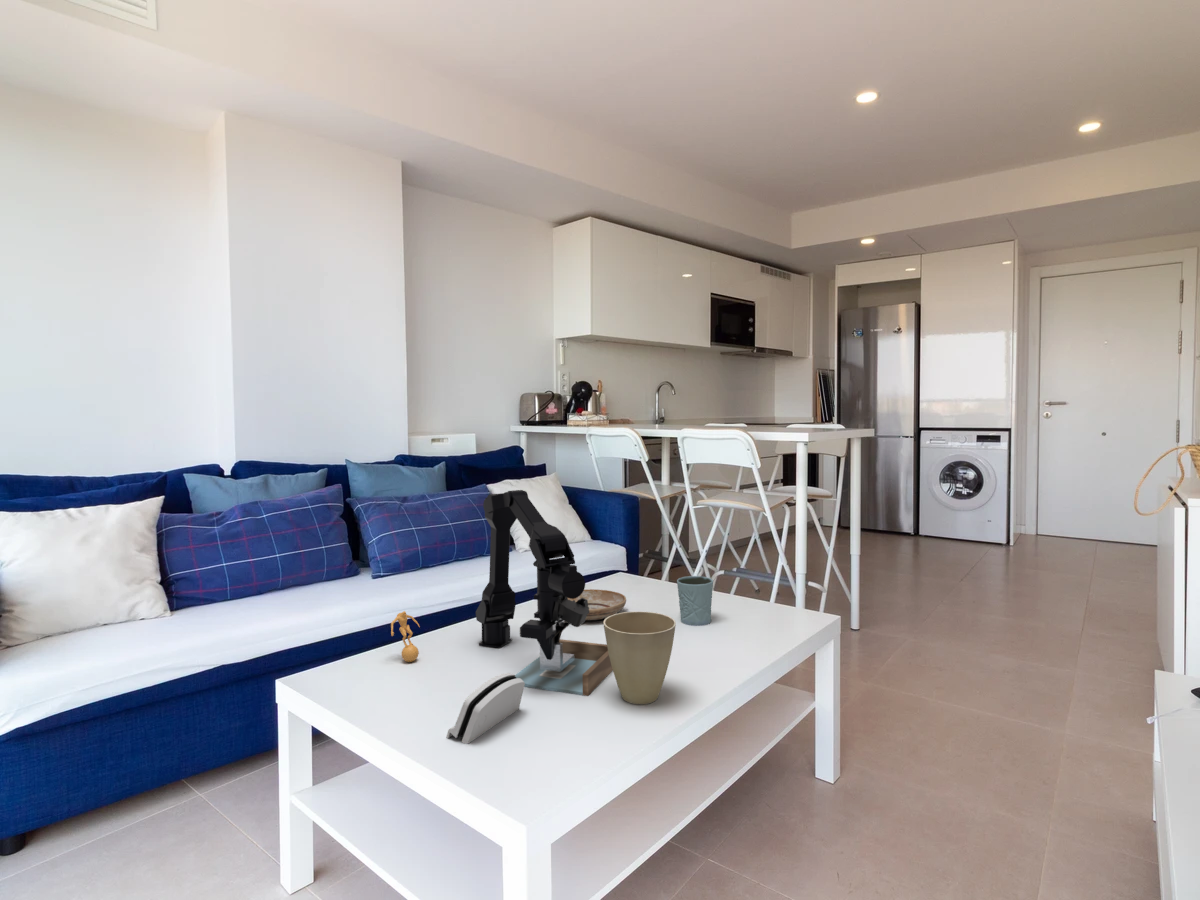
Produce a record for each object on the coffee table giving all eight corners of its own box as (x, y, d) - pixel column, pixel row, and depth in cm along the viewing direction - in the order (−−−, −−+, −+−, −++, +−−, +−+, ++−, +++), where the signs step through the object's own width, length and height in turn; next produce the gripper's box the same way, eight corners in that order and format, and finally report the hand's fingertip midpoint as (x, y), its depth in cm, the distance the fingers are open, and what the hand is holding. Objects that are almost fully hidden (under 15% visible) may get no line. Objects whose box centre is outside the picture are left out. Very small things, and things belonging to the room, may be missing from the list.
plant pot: (589, 699, 136) (588, 623, 136) (633, 678, 148) (632, 607, 147) (648, 720, 127) (647, 638, 126) (690, 695, 138) (689, 619, 138)
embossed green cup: (718, 619, 191) (718, 578, 190) (704, 629, 182) (704, 585, 182) (686, 614, 196) (686, 574, 196) (671, 623, 188) (671, 581, 187)
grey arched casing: (499, 703, 135) (512, 660, 133) (517, 715, 133) (530, 672, 131) (444, 738, 120) (458, 691, 118) (464, 752, 118) (478, 704, 116)
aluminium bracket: (560, 671, 146) (560, 645, 146) (540, 669, 148) (539, 642, 148) (574, 659, 154) (574, 634, 154) (554, 657, 156) (554, 631, 155)
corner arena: (506, 684, 145) (506, 664, 145) (544, 655, 163) (544, 637, 163) (588, 695, 138) (587, 675, 138) (618, 664, 156) (618, 645, 156)
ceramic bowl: (599, 600, 214) (599, 584, 214) (641, 618, 194) (641, 601, 194) (535, 611, 202) (534, 595, 201) (572, 631, 182) (572, 613, 181)
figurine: (401, 668, 155) (400, 617, 155) (385, 663, 159) (384, 613, 158) (429, 657, 162) (428, 609, 162) (413, 653, 166) (411, 605, 165)
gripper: (566, 602, 136) (567, 677, 136) (598, 582, 153) (599, 648, 154) (517, 598, 140) (519, 671, 140) (555, 578, 157) (555, 643, 158)
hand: (551, 658), depth 148 cm, fingers closed on aluminium bracket
